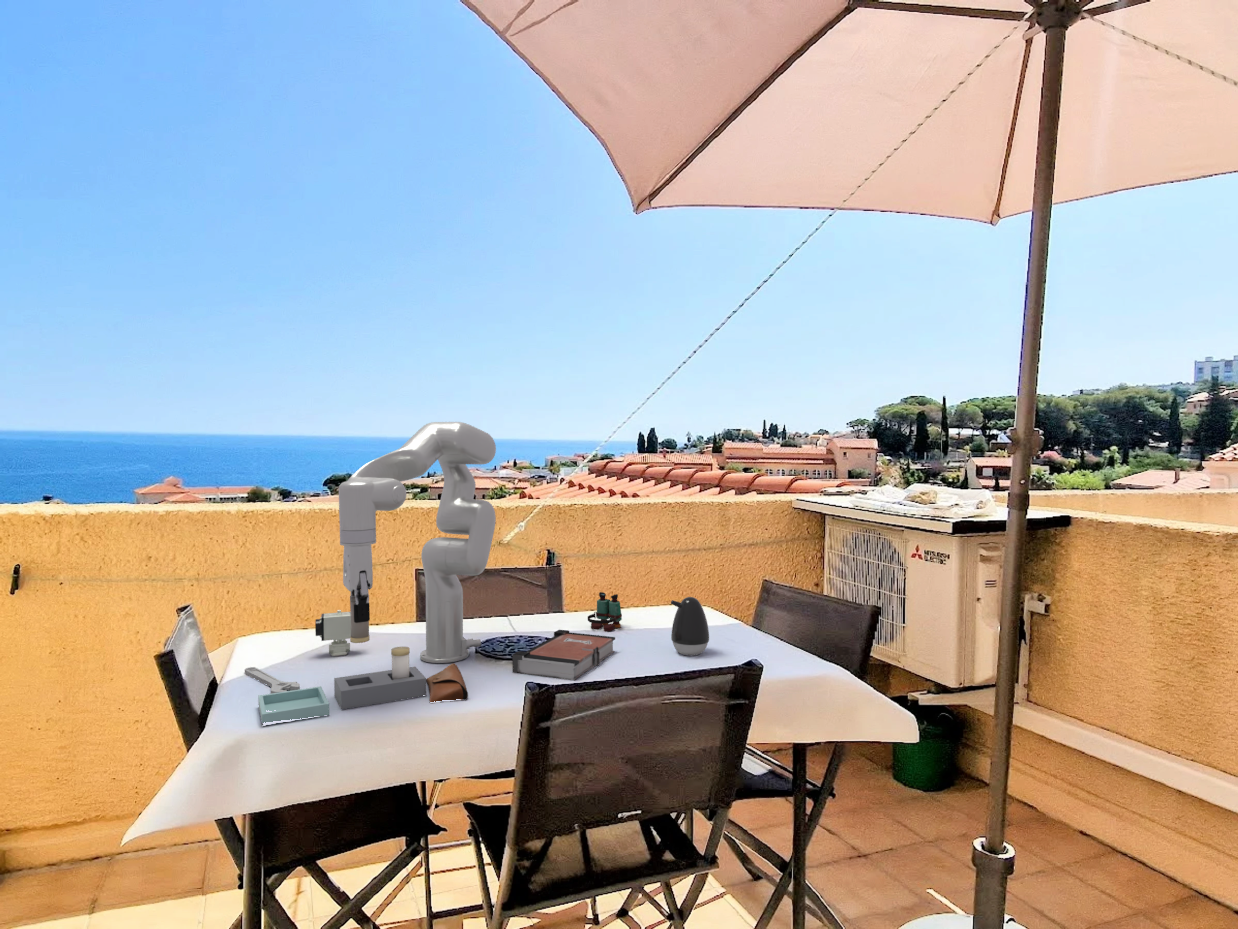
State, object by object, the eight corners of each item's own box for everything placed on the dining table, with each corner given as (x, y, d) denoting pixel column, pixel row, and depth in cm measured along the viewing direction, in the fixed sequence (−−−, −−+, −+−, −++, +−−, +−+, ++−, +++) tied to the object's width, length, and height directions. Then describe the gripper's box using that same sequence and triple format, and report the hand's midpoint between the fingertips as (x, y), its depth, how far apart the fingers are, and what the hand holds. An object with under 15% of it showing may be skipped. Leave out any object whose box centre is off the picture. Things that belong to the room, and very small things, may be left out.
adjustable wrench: (242, 675, 183) (242, 667, 183) (270, 669, 187) (270, 662, 187) (275, 700, 164) (275, 692, 164) (305, 694, 168) (305, 686, 168)
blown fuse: (367, 637, 167) (367, 593, 166) (371, 641, 163) (370, 596, 163) (348, 639, 165) (348, 594, 164) (352, 644, 161) (351, 598, 161)
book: (577, 683, 177) (577, 662, 177) (512, 674, 183) (512, 654, 183) (617, 653, 201) (617, 635, 201) (559, 647, 207) (559, 629, 207)
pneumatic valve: (363, 654, 198) (362, 610, 198) (315, 659, 194) (315, 613, 194) (362, 649, 203) (362, 606, 203) (316, 653, 199) (315, 609, 199)
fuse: (407, 688, 171) (407, 645, 171) (411, 694, 167) (411, 650, 167) (389, 691, 169) (389, 648, 169) (393, 696, 166) (393, 652, 165)
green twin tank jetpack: (582, 598, 224) (600, 590, 232) (584, 632, 225) (602, 622, 233) (607, 602, 219) (624, 593, 227) (609, 636, 220) (626, 626, 228)
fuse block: (415, 683, 175) (415, 666, 175) (426, 696, 166) (426, 678, 166) (334, 695, 166) (334, 678, 166) (341, 710, 157) (341, 691, 157)
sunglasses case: (422, 679, 178) (437, 654, 179) (448, 691, 180) (462, 666, 181) (429, 704, 161) (445, 676, 162) (457, 717, 163) (473, 689, 164)
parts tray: (321, 697, 165) (321, 686, 165) (329, 715, 154) (329, 703, 154) (258, 707, 159) (258, 695, 159) (262, 726, 148) (261, 714, 148)
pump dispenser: (667, 648, 205) (667, 593, 204) (704, 647, 206) (705, 592, 205) (673, 659, 195) (673, 601, 194) (712, 658, 196) (713, 600, 195)
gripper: (334, 533, 168) (336, 613, 169) (346, 543, 154) (348, 630, 155) (368, 531, 172) (370, 609, 173) (383, 540, 157) (385, 626, 158)
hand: (360, 618), depth 164 cm, fingers closed on blown fuse, 3 cm apart
